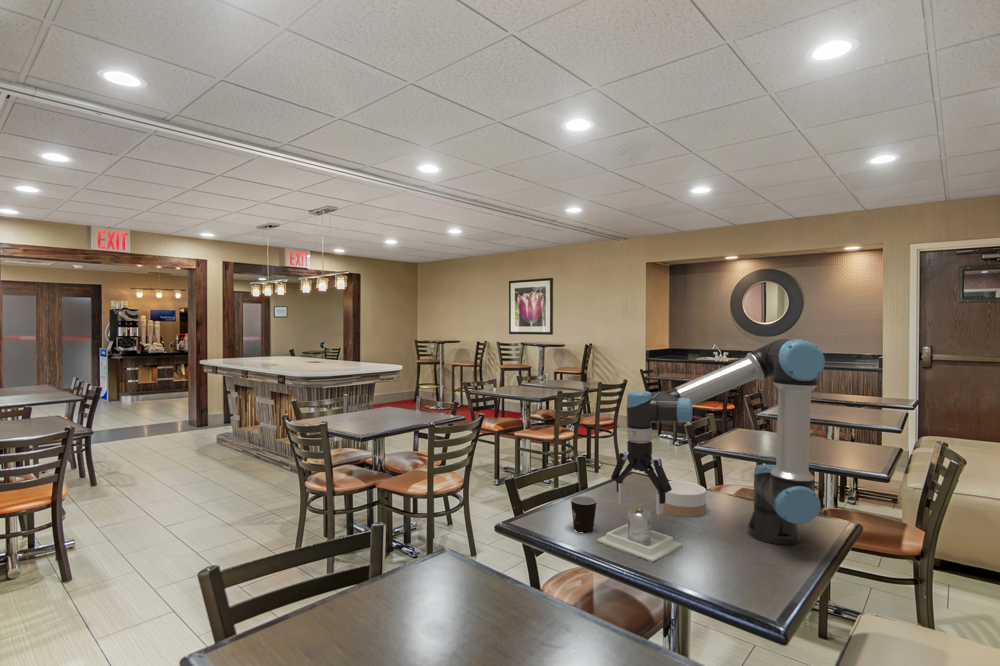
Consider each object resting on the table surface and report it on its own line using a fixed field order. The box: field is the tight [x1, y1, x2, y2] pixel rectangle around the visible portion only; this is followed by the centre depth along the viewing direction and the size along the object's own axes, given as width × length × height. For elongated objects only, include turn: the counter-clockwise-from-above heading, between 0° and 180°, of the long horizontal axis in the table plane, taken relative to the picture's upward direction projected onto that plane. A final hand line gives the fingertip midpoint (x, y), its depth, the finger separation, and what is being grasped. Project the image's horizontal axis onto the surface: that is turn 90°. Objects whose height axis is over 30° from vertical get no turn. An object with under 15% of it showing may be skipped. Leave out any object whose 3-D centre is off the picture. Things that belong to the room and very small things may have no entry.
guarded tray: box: [596, 523, 683, 561], centre depth 163 cm, size 20×17×3 cm
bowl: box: [663, 480, 707, 518], centre depth 195 cm, size 17×17×8 cm
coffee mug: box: [570, 495, 597, 534], centre depth 176 cm, size 12×9×10 cm
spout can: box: [627, 506, 652, 546], centre depth 163 cm, size 7×7×11 cm
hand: (640, 508), depth 163 cm, fingers open, 13 cm apart
